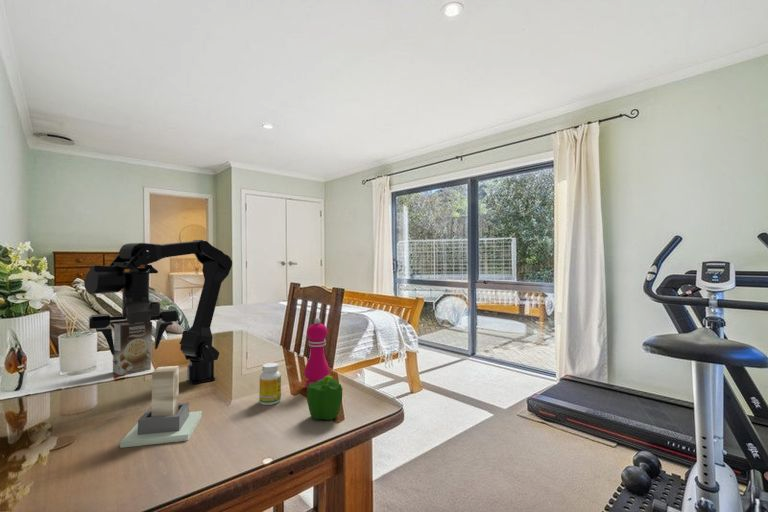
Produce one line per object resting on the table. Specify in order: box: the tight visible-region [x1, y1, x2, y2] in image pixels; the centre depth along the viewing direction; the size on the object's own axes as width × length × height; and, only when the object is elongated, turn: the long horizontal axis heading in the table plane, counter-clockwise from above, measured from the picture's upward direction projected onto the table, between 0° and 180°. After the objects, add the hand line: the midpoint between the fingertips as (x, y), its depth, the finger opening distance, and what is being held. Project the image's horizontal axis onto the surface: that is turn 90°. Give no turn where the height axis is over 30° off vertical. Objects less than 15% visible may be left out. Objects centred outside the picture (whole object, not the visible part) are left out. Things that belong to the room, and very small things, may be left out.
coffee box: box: [112, 320, 153, 376], centre depth 121 cm, size 9×6×16 cm
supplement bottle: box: [258, 362, 282, 406], centre depth 95 cm, size 5×5×10 cm
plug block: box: [151, 365, 180, 417], centre depth 78 cm, size 4×4×12 cm
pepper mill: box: [303, 317, 330, 389], centre depth 106 cm, size 7×7×20 cm
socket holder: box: [119, 402, 203, 449], centre depth 78 cm, size 12×12×4 cm
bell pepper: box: [306, 374, 343, 421], centre depth 86 cm, size 8×8×10 cm
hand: (135, 351), depth 94 cm, fingers open, 9 cm apart
